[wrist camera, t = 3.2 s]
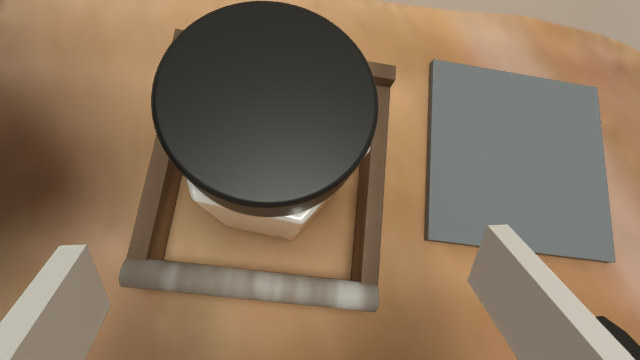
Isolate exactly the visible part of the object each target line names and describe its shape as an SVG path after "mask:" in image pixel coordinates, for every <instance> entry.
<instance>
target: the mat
mask: <svg viewBox="0 0 640 360" xmlns="http://www.w3.org/2000/svg"><path fill="white" fill-rule="evenodd" d="M505 224H508V225H509V226H510V227H511V228H512V230H513V231H514V232H515V233H516V234H517V235H518V236H519V237H520V238H521V239H522V240H523V241H524V242H525V243H526V244H527V245H528V246H529V248H530V249H531V250H532V251H533V252H534V253H535V254H543V255H551V256H559V257H568V258H576V259H584V260H592V261H600V262H616V261H615V252H614V242H613V233H612V223H611V214H610V204H609V195H608V185H607V176H606V167H605V157H604V148H603V138H602V129H601V119H600V110H599V100H598V91H597V87H591V86H585V85H580V84H574V83H568V82H562V81H556V80H551V79H545V78H539V77H533V76H527V75H522V74H516V73H510V72H504V71H499V70H493V69H487V68H481V67H475V66H470V65H464V64H458V63H452V62H446V61H441V60H435V59H433V60H432V62H431V63H430V82H429V115H428V148H427V181H426V213H425V240H429V241H437V242H445V243H453V244H461V245H470V246H478V247H480V245H481V242H482V239H483V237H484V234H485V231H486V229H487V226H488V225H505Z"/></svg>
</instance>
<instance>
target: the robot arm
mask: <svg viewBox="0 0 640 360" xmlns="http://www.w3.org/2000/svg"><path fill="white" fill-rule="evenodd" d="M467 281H468V283H469V284H470V286H471V287H472V289H473V290H474V292H475V294H476V295H477V297H478V298H479V300H480V301H481V303H482V304H483V306H484V308H485V309H486V311H487V312H488V314H489V315H490V317H491V318H492V320H493V322H494V323H495V325H496V326H497V328H498V329H499V331H500V332H501V334H502V336H503V337H504V339H505V340H506V342H507V343H508V345H509V347H510V348H511V350H512V351H513V353H514V354H515V356H516V357H517V359H518V360H640V346H639V345H638V344H637V343H636V342H635V341H634V340H633V339H632V338H631V337H630V336H629V335H628V334H627V333H626V332H625V331H624V330H622V329H621V328H619V327H618V326H617V325H615V324H614V323H612V322H611V321H609V320H608V319H607V318H605V317H604V316H598V317H595V316H594V315H593V314H592V313H591V312H590V311H589V310H588V309H587V308H586V307H585V306H584V305H583V304H582V303H581V302H580V300H579V299H578V298H577V297H576V296H575V295H574V294H573V293H572V292H571V291H570V290H569V289H568V288H567V287H566V286H565V285H564V284H563V282H562V281H561V280H560V279H559V278H558V277H557V276H556V275H555V274H554V273H553V272H552V271H551V270H550V269H549V268H548V267H547V266H546V264H545V263H544V262H543V261H542V260H541V259H540V258H539V257H538V256H537V255H536V254H535V253H534V252H533V251H532V250H531V249H530V248H529V246H528V245H527V244H526V243H525V242H524V241H523V240H522V239H521V238H520V237H519V236H518V235H517V234H516V233H515V232H514V231H513V230H512V228H511V227H510V226H509V225H508V224H505V225H488V226H487V229H486V231H485V234H484V237H483V239H482V242H481V245H480V247H479V250H478V253H477V256H476V258H475V261H474V264H473V266H472V269H471V272H470V274H469V277H468V280H467ZM110 306H111V304H110V302H109V299H108V297H107V294H106V292H105V289H104V287H103V284H102V282H101V279H100V276H99V274H98V271H97V269H96V266H95V264H94V261H93V259H92V256H91V254H90V251H89V249H88V246H87V244H84V245H63V246H59V247H58V248H57V249H56V251H55V252H54V253H53V255H52V256H51V257H50V259H49V260H48V261H47V262H46V264H45V265H44V266H43V268H42V269H41V270H40V272H39V273H38V274H37V276H36V277H35V278H34V279H33V281H32V282H31V283H30V285H29V286H28V287H27V289H26V290H25V291H24V293H23V294H22V295H21V296H20V298H19V299H18V300H17V302H16V303H15V304H14V306H13V307H12V308H11V310H10V311H9V312H8V313H7V315H6V316H5V317H4V319H3V320H2V321H1V323H0V360H85V359H86V357H87V355H88V353H89V351H90V349H91V346H92V344H93V342H94V340H95V338H96V336H97V334H98V332H99V330H100V327H101V325H102V323H103V321H104V319H105V317H106V315H107V313H108V311H109V308H110Z"/></svg>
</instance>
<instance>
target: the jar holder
mask: <svg viewBox="0 0 640 360" xmlns="http://www.w3.org/2000/svg"><path fill="white" fill-rule="evenodd" d="M182 31H184V30H179V29H175V33H174V37H173V41H174V40H175V39H176V38H177V37H178V36H179V34H180V33H181V32H182ZM173 41H172V42H173ZM367 63H368V65H369V67H370V69H371V71H372V74H373V77H374V80H375V84H376V87H377V94H378V106H379V108H378V120H377V126H376V131H375V134H374V138H373V140H372V143H371V145H370V151H369V153H368V154H367V155H366V156H365V157H364V159H363V160H362V161H361V163H360V170H359V182H358V194H357V207H356V219H355V231H354V243H353V255H352V268H351V280H350V281H349V280H340V279H331V278H321V277H312V276H303V275H294V274H285V273H276V272H266V271H257V270H248V269H239V268H230V267H221V266H212V265H202V264H193V263H184V262H175V261H166V260H164V255H165V250H166V246H167V241H168V237H169V232H170V227H171V223H172V218H173V213H174V209H175V204H176V200H177V195H178V190H179V186H180V181H181V176H182V173H181V172H180V171H179V170H178V169H177V168H176V167H175V166H174V164H173V163H172V162H171V160H170V159H169V157H168V156H167V154H166V153H165V151H164V149H163V147H162V145H161V143H160V141H159V139H158V136H157V135H156V139H155V144H154V148H153V152H152V156H151V160H150V164H149V168H148V172H147V176H146V181H145V185H144V189H143V193H142V197H141V201H140V205H139V209H138V214H137V218H136V222H135V226H134V230H133V234H132V238H131V242H130V246H129V251H128V255H127V259H126V260H125V261H124V263H123V265H122V267H121V270H120V275H119V283H120V286H122V287H130V288H140V289H150V290H160V291H170V292H180V293H189V294H199V295H209V296H219V297H229V298H239V299H249V300H259V301H268V302H278V303H288V304H298V305H308V306H318V307H328V308H337V309H347V310H357V311H367V312H376V311H377V309H378V305H379V288H378V277H379V261H380V245H381V229H382V213H383V197H384V181H385V165H386V149H387V133H388V117H389V101H390V87H391V86H392V84H393V82H394V81H395V75H396V66H393V65H387V64H381V63H375V62H369V61H367Z"/></svg>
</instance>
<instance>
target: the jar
mask: <svg viewBox="0 0 640 360" xmlns="http://www.w3.org/2000/svg"><path fill="white" fill-rule="evenodd" d="M378 108H379V106H378V94H377V87H376V84H375V80H374V77H373V74H372V71H371V69H370V67H369V65H368V63H367V61H366V59H365V57H364V56H363V54H362V52H361V51H360V50H359V48H358V47H357V46H356V44H355V43H354V42H353V41H352V40H351V39H350V38H349V36H348V35H346V34H345V33H344V32H343V31H342V30H341V29H340V28H339V27H337V26H336V25H335V24H333V23H332V22H330V21H329V20H327V19H326V18H324V17H322V16H320V15H318V14H317V13H314V12H312V11H310V10H307V9H305V8H302V7H299V6H295V5H291V4H287V3H281V2H273V1H251V2H243V3H237V4H233V5H229V6H225V7H223V8H220V9H217V10H215V11H213V12H210V13H208V14H206V15H205V16H203V17H201V18H199V19H198V20H196V21H195V22H193V23H192V24H191V25H189V26H188V27H187V28H186V29H185V30H184V31H182V32H181V33H180V34H179V36H178V37H177V38H176V39H175V40H174V41H173V42H172V44H171V45H170V46H169V48H168V49H167V51H166V52H165V54H164V55H163V57H162V59H161V61H160V63H159V66H158V68H157V71H156V74H155V77H154V82H153V86H152V95H151V109H152V118H153V122H154V126H155V130H156V133H157V136H158V139H159V141H160V143H161V145H162V147H163V149H164V151H165V153H166V154H167V156H168V157H169V159H170V160H171V162H172V163H173V164H174V166H175V167H176V168H177V169H178V170H179V171H180V172H181V173H182V174H183V175H184V176H185V177H186V180H187V184H188V188H189V192H190V196H191V198H192V200H193V201H195V202H196V203H197V204H198V205H200V206H201V207H202V208H204V209H205V210H206V211H207V212H209V213H210V214H211V215H213V216H214V217H215V218H216V219H218V220H219V221H220V222H222V223H223V224H224V225H225V226H228V227H233V228H237V229H242V230H247V231H251V232H256V233H260V234H265V235H270V236H274V237H279V238H284V239H288V240H293V239H294V238H295V237H296V236H297V235H298V234H299V233H300V232H301V231H302V230H303V229H304V227H305V226H306V225H307V224H308V223H309V222H310V221H311V220H312V219H313V217H314V216H315V215H316V214H317V213H318V212H319V211H320V210H321V209H322V207H323V206H324V205H325V204H326V203H327V202H328V201H329V200H330V199H331V198H332V196H333V195H334V194H335V193H336V192H337V191H338V189H339V188H340V187H341V186H342V185H343V184H344V183H345V182H346V180H347V179H348V178H349V177H350V175H351V174H352V173H353V172H354V171H355V169H356V168H357V167H358V166H359V164H360V163H361V161H362V160H363V159H364V157H365V156H366V155H367V154H368V153H369V151H370V145H371V143H372V140H373V138H374V134H375V131H376V126H377V120H378Z"/></svg>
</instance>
